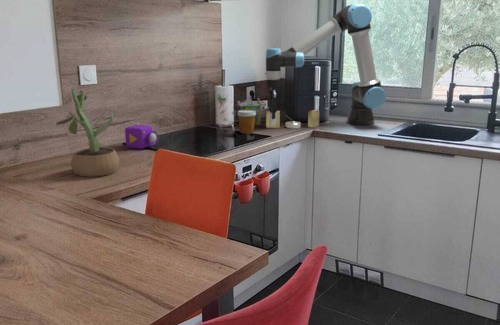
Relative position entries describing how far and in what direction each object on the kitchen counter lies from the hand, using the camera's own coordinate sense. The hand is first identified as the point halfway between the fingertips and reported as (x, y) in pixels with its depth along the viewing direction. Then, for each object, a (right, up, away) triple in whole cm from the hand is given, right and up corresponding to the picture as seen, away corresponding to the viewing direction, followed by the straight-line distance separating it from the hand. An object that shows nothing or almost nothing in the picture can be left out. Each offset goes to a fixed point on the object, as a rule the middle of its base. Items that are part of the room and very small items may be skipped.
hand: (272, 124), depth 250 cm
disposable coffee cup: (-14, -6, -12) cm, 19 cm away
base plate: (+11, -3, +2) cm, 11 cm away
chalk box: (-11, 0, +14) cm, 17 cm away
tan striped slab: (0, -2, 0) cm, 2 cm away
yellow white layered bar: (+22, -1, +3) cm, 22 cm away
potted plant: (-71, -23, -74) cm, 105 cm away
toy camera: (-60, -13, -37) cm, 72 cm away
